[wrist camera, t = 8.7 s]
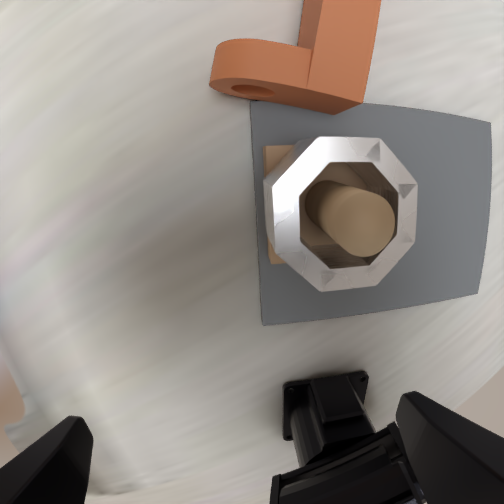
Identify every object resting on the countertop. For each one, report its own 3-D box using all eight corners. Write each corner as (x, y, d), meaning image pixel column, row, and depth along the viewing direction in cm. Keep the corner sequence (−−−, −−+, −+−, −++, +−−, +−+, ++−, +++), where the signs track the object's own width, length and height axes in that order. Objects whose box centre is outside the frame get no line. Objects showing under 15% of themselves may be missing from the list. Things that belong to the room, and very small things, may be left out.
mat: (473, 290, 21) (477, 293, 20) (261, 320, 20) (262, 325, 19) (485, 122, 17) (490, 122, 16) (249, 103, 16) (250, 101, 16)
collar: (380, 257, 17) (410, 280, 14) (267, 267, 17) (276, 296, 13) (382, 141, 15) (417, 140, 12) (260, 141, 15) (269, 137, 11)
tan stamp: (367, 247, 18) (424, 291, 12) (268, 255, 18) (287, 308, 12) (368, 145, 17) (433, 146, 10) (262, 146, 16) (282, 141, 10)
